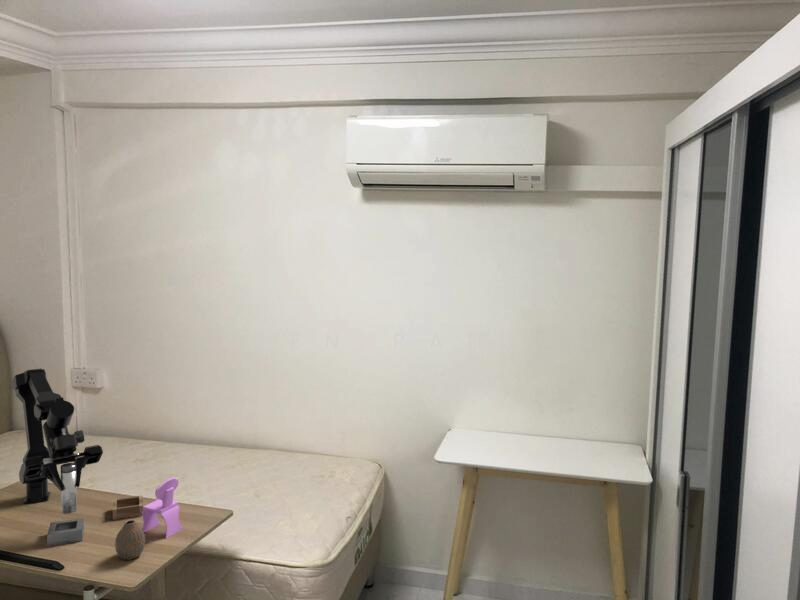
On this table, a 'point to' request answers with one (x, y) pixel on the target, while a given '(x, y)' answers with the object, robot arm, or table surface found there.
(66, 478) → the silver and grey cylinder
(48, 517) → the table surface
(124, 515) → the block
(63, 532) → the socket block
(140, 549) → the vase
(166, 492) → the toy chair
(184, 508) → the table surface
